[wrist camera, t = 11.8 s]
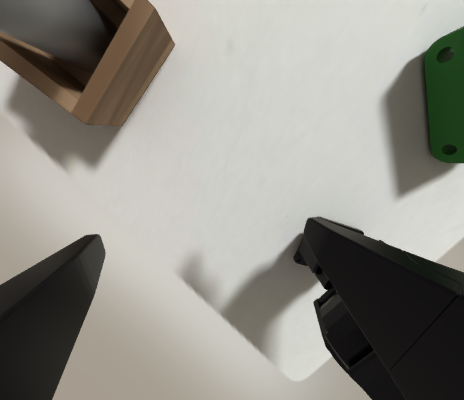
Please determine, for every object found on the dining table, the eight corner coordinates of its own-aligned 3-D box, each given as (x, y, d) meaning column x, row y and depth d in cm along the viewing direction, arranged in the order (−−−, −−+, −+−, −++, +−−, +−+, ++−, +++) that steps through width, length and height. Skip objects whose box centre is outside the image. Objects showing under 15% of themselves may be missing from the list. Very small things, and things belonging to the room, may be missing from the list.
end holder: (175, 44, 16) (154, 7, 11) (121, 126, 18) (85, 124, 13) (77, -53, 14) (0, -150, 9) (28, 53, 15) (-56, 18, 11)
